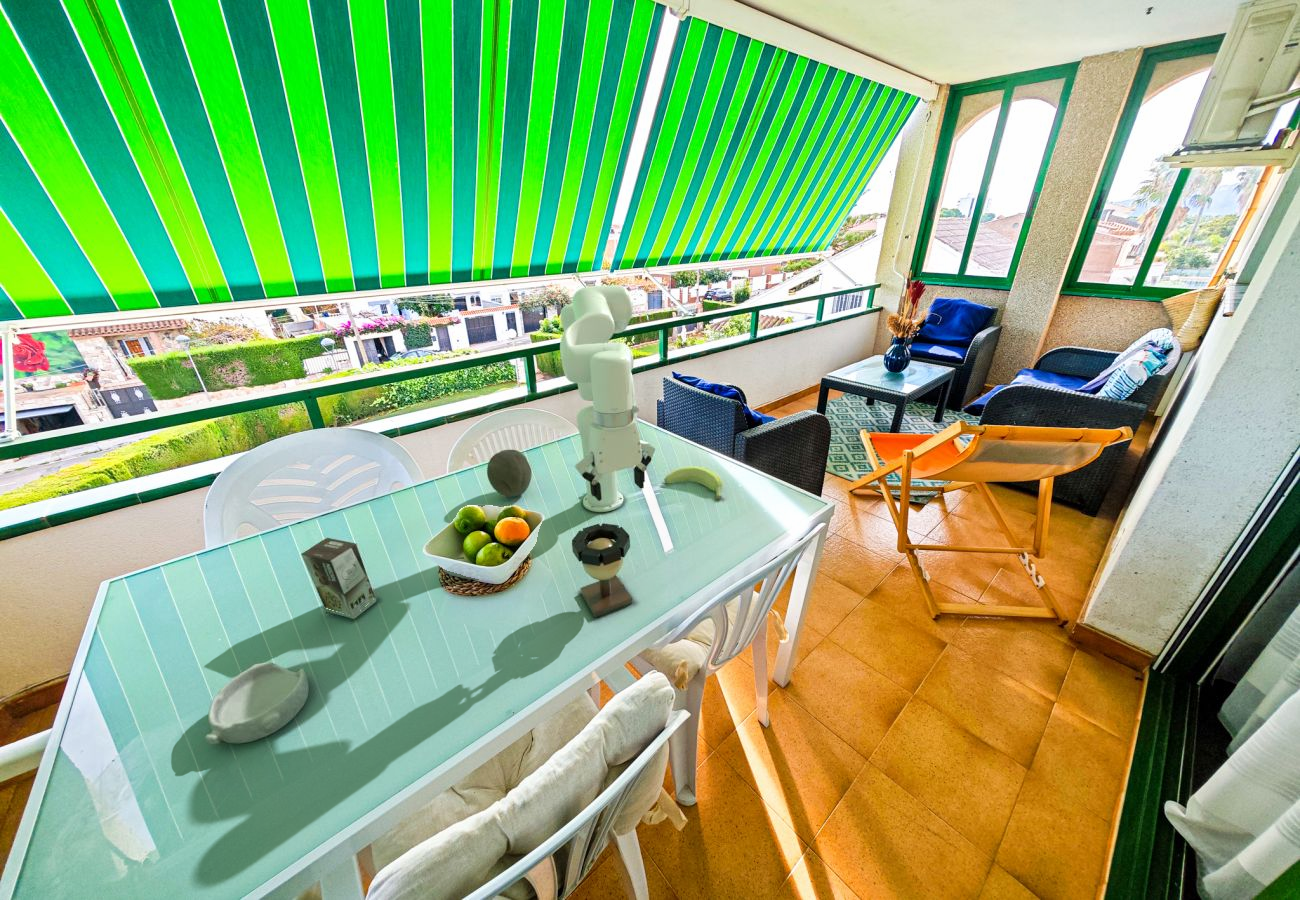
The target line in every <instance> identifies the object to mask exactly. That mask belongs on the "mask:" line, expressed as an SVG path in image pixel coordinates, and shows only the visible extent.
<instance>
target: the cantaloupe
mask: <svg viewBox="0 0 1300 900" xmlns="http://www.w3.org/2000/svg"><path fill="white" fill-rule="evenodd" d="M532 474H533V473H532V467H531V465H530V463H529V461H528V458H527V457H526V455H525V454H524V453H523V452H521V451H519V450H517V449H503V450H500V451H499V452H496V453H495V454H493V455H492V457H491V458H490V459H489V461H488V463H487V468H486V475H487V479H488V482H489V484H490V486H491V487H492V489H493V490H494V491H495V492H497V494H499V495H501V496H503V497H506V496H507V498H514V497H518V496H522V495H523V494H525V493H526V492H527V490H528V488H529V486H530V484H531V481H532Z"/></svg>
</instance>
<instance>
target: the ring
mask: <svg viewBox="0 0 1300 900" xmlns="http://www.w3.org/2000/svg"><path fill="white" fill-rule="evenodd" d="M599 538H607V539H611V540H613V541H614V542H616V543H615V544H614V545H613V546H610V547H607V548H604V549H601V550H600V549H594V548H588V547H587V545H588V544H589V543H590V542H592V541H593V540H595V539H599ZM630 548H631V538H630V534H629V533H628V532H627V531H626V530H625V528H624V527H623V526H620V525H618V524H612V523H611V524H610V523H604V522H602V524H601V525H600V523H596V524H593V525H589V526H586V527H583V528H582V530H579V531H578V532H577V533H576V534H575V536H574V537H573V538H572V540H571V549H572V553H573V554H574V556H575V558H576V560H577V561H578V563H580V562H581V564H582V563H583V564H589V565H595V566H600V565H601V563H602V564H603V565H604V566H605V565H608V564H611V563H614V562H616V561H619V560H621V557H623V558H625V557H626V556H627V553H628V552H629V550H630ZM583 564H582V565H583Z"/></svg>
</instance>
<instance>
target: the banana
mask: <svg viewBox="0 0 1300 900" xmlns="http://www.w3.org/2000/svg"><path fill="white" fill-rule="evenodd" d="M663 480H664V482H665V483H664V484H675V483H682V482H690V483H698V484H701V485H703V486H705V487H707V488H708V489H709V490H711V491H713V492H716V497H715V498H716V499H717V500H722V498H723V497H722V494H721V490H722V489H723V480H722V479H721V476H720V475H719V474H718V473H716V472H715V471H713V470H711V469H709V468H706V467H702V466H696V465H695V466H691V465H690V466H684V467H679V468H677V469H674V470H673V471H671V472H670V473H668V474H667V475H666V476H665V478H664V479H663Z"/></svg>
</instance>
